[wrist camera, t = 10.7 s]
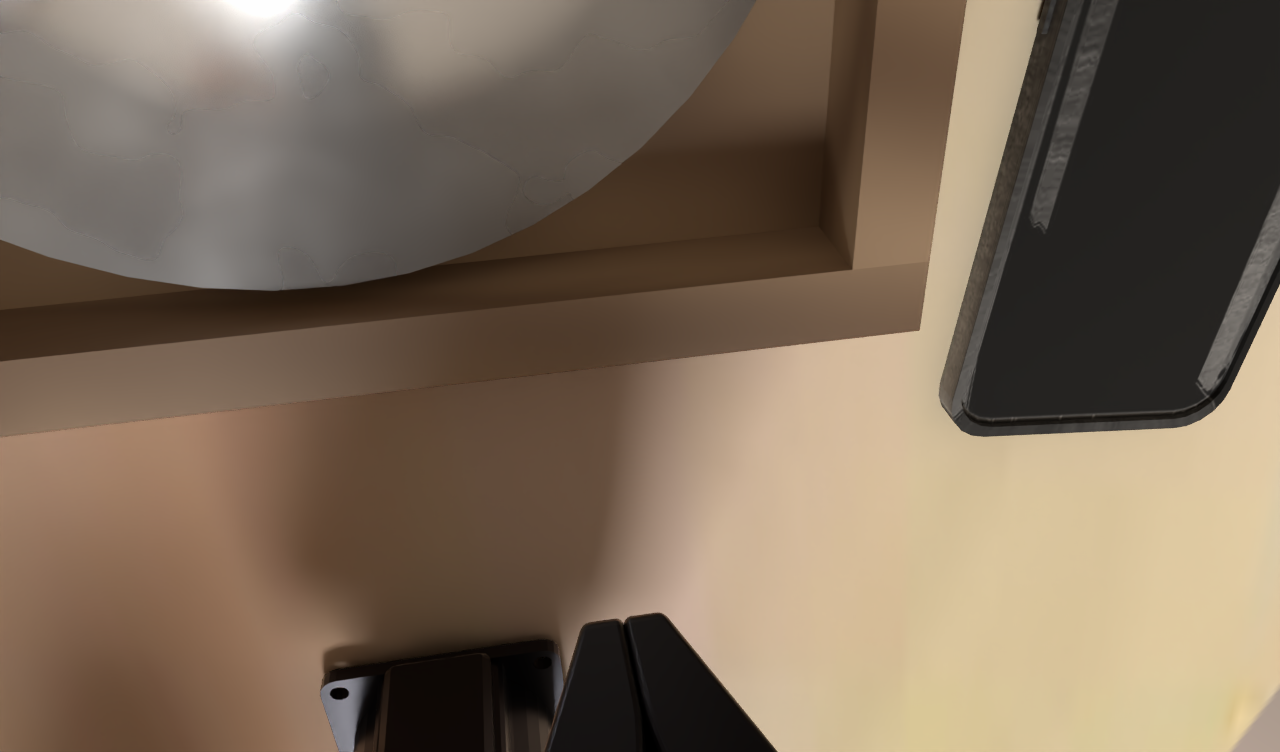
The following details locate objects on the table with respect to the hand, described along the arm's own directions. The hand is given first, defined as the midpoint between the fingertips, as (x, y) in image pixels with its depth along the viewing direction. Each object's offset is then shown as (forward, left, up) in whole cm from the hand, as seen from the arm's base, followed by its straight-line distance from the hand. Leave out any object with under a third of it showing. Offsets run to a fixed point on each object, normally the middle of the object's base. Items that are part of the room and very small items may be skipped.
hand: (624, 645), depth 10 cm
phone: (0, -14, -13) cm, 19 cm away
